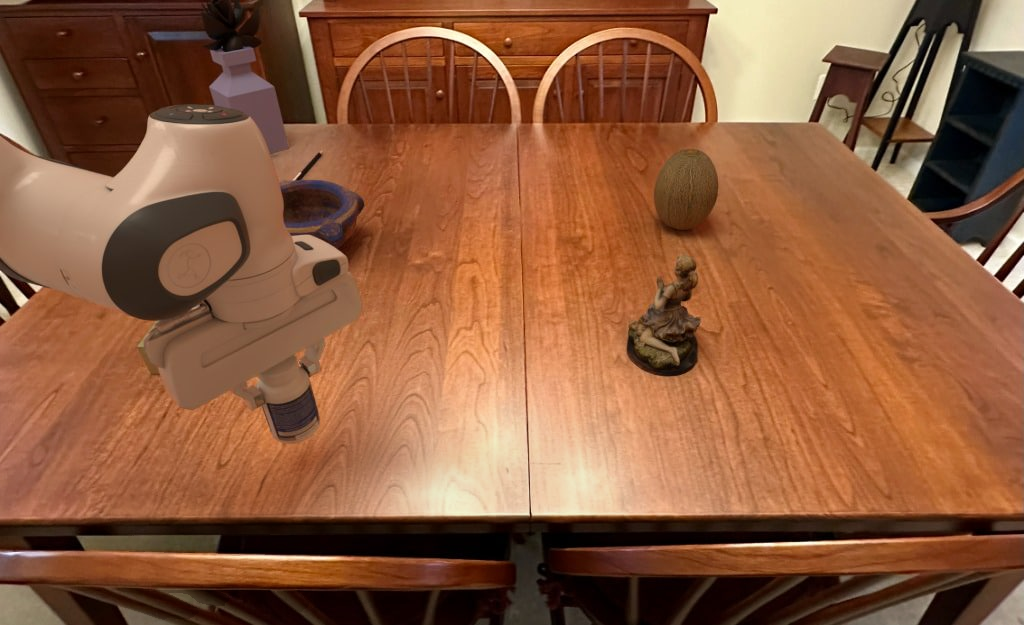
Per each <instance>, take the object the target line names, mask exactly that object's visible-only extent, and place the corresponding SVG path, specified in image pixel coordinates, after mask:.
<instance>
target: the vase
mask: <svg viewBox="0 0 1024 625" xmlns="http://www.w3.org/2000/svg"><path fill="white" fill-rule="evenodd" d="M200 2H201V7H202V9H203V10H200V16H201V19H202V24H203V27H204V29H205V33H206V35H207V36H208V37H209V38H210V39H211V40H213V42H211V43H208V44H203V45H201V47H202V48H204V49H206V50H208V51H209V53H210V55H211V59H212V62H214V63H216V64H218V65H220V66H221V68H222V72H221V73H220V75H218V77H217V78H216V79H214V81H213V82H212V83H211V84H210V85H209V86H208V88H209V91H210V94H211V98H212V100H213V105H215V106H221V107H226V108H231V109H235V110H238V111H241V112H243V113H244V114H246V115H248V116H250V117H251V118H252V119H253V121H254V122H255V123H256V125H257V126H258V128H259V130H260V131H261V133H262V135H263V137H264V140H265V142H266V144H267V146H268V149H269V152H270V154H274V153H277V152H278V153H279V152H280V151H284V150H287V149H290V145H289V141H288V137H287V134H286V130H285V125H284V121H283V116H282V113H281V108H280V105H279V101H278V100H279V99H278V96H277V95H278V94H277V92H276V88H275V86H274V85H273V84H271V83H270V82H269V81H267V80H265V79H264V78H262V77H261V76H260V75H258V74H257V73H255V72H253V70H252V66H251V63H253V62H256V61H257V59H256V55H255V54H256V53H255V51H254V49H256V48H258V47H259V46H261V45H263V41H262V39H260V38H258V37H256V35H257V34H258V31H259V29H260V24H261V10H260V6H259V5H258V6H257V7H256V9H255V10H254V12H253V13H252V14H251V15H250V17H249V18H248V19H247V20H246V17H247V12H246V7H245V6H242V5H241V3H240V1H239V0H233V4H232V0H211V1H209V2H206V3H205V4H204V2H203V1H200ZM205 5H206V6H205ZM239 27H240V28H239ZM238 28H239V29H238ZM237 29H238V30H237Z"/></svg>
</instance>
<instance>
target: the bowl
mask: <svg viewBox="0 0 1024 625" xmlns="http://www.w3.org/2000/svg"><path fill="white" fill-rule="evenodd" d="M292 180H293V179H292ZM292 180H283V181H281V182H279V184H280V188H281V193H282V197H283V201H284V210H283V220H284V224H285V226H286V228H287V230H288V231H289V233H290V235H291V236H298V235H312V236H314V237H316V238H319V239H321V240H323V241H325V242H327V243H328V244H330V245H332V246H333V247H335V248H336V249H338V250H339V248H341V247H342V246H343V245H345V243H347V241H348V240H349V239H350V238H351V237H352V235H353V234H354V232H355V229H356V227H357V220H358V217H359V215H360V214H361V213H362V211H363V210H364V208H365V206H366V204H365V201H364V199H363V197H361V195H360V194H358V193H357V192H355V191H352V190H351V189H349V188H346V187H345V186H343V185H341V184H339V183H335V182H333V181H328V180H323V179H300V180H293V181H292Z"/></svg>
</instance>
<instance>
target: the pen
mask: <svg viewBox="0 0 1024 625" xmlns="http://www.w3.org/2000/svg"><path fill="white" fill-rule="evenodd" d="M322 155H323V150H321V151H319V152H317V153H316V155H315V156H314V157H313V158H312V159H311V160H310V161H309V163H307V164H306V166H305V167H304V168H303V169H302V170H300V172H298V173H297V174H296V176H295V177H294V178H293V179H292V180H291V181H293V180H302V178H303V177H304V176H305V175H306V174H307V172H309V170H310V169H311V168H312V167H313V166H314V164H315V163H316V162H317V161H318V160H319V158H321V156H322Z"/></svg>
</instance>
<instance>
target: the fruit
mask: <svg viewBox="0 0 1024 625" xmlns="http://www.w3.org/2000/svg"><path fill="white" fill-rule="evenodd" d="M718 195H719V176H718V173H717V170H716V166H715V164H714V163H713V161H712V159H711V158H710V156H709V155H708V154H707V153H705V152H704V151H702V150H700V149H695V148H685V149H681V150H678V151H677V152H675V153H673V154H672V155H671V156H670V157H668V159H667V160H666V161H665V162H664V164H663V165H662V167H661V169H660V171H659V172H658V175H657V178H656V181H655V184H654V190H653V202H654V207H655V210H656V213H657V215H658V217H659V219H660V220H661V221H662V222H663V224H664V225H666V226H667V227H669V228H671V229H673V230H674V229H675V230H680V231H681V230H683V231H684V230H689V229H690V230H691V229H693V228H695V227H697V226H699V225H700V224H702V223H703V222H704V221H705V220H706V219H708V217H709V216H710V214H711V213H712V211H713V209H714V208H715V206H716V203H717V200H718Z"/></svg>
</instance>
